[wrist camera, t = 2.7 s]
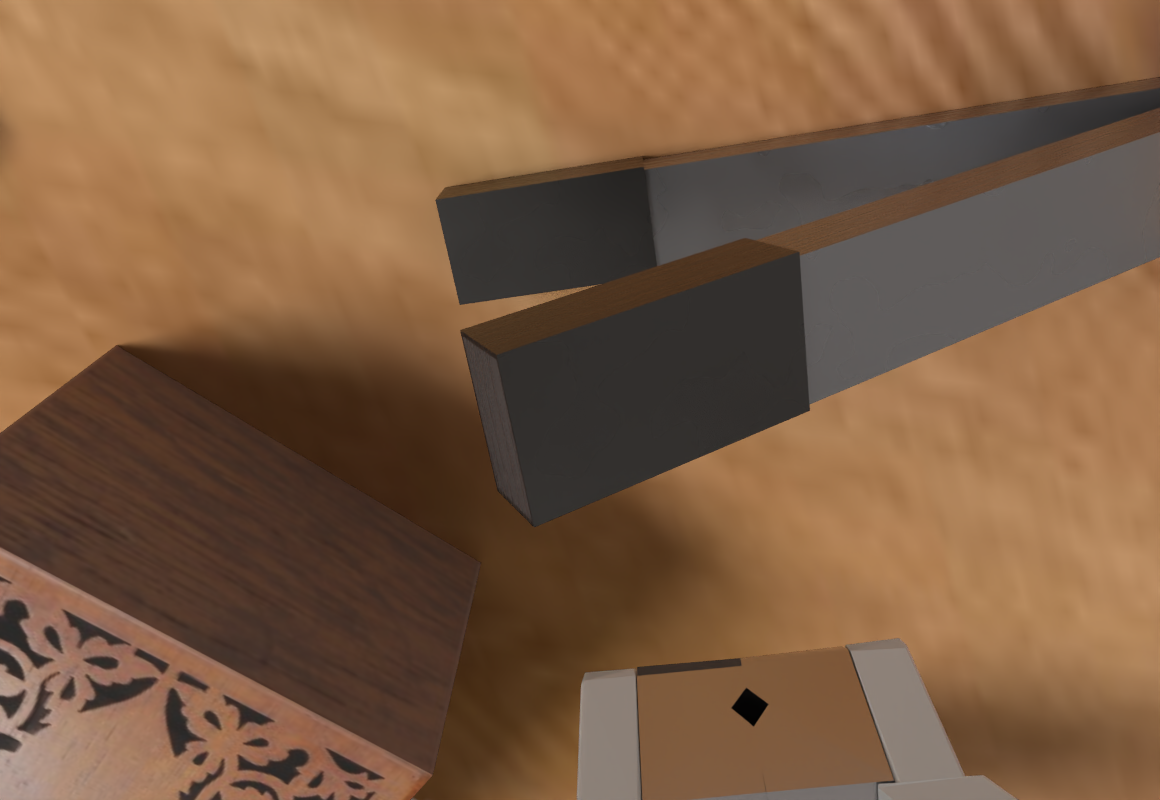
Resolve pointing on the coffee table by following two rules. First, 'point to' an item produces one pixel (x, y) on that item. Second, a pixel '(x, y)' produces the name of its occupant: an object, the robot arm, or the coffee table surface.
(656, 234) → the tongs lower arm
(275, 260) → the coffee table surface
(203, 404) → the tissue box cover
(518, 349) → the tongs upper arm
